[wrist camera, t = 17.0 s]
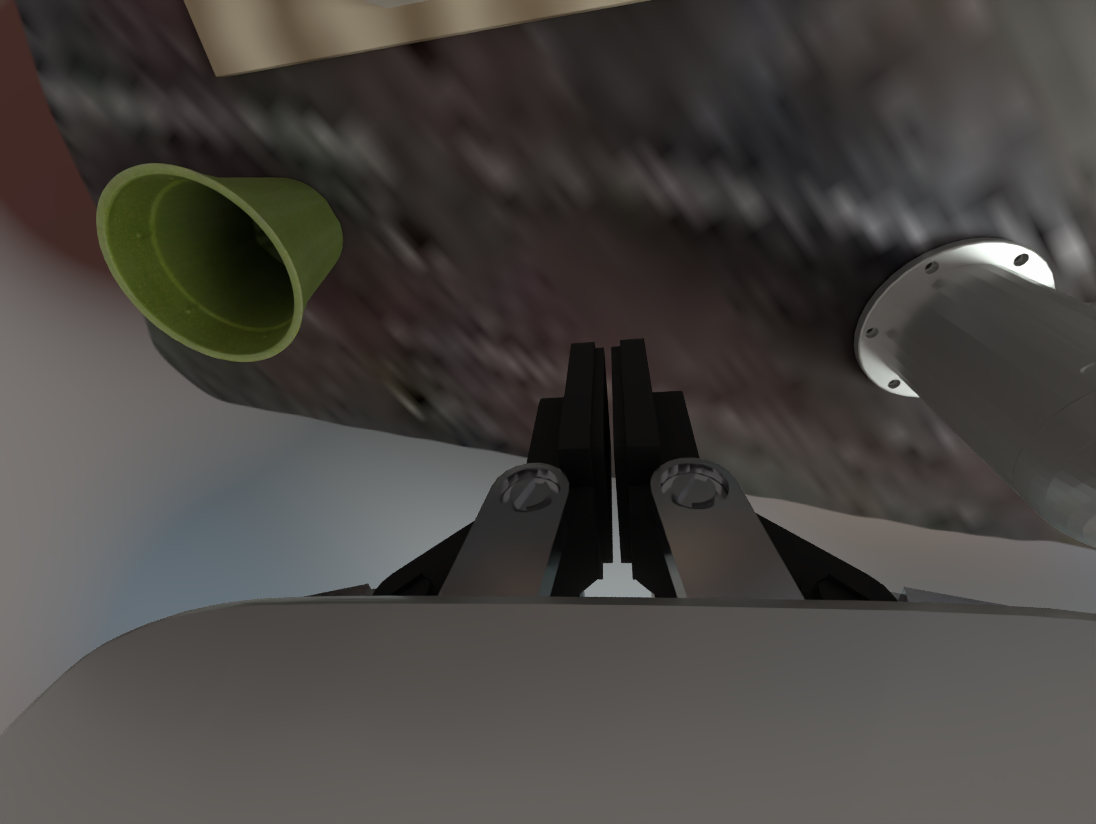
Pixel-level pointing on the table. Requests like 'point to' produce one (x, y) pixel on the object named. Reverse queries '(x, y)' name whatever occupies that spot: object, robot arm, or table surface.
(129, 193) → the plant pot
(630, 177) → the table surface
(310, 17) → the rail board
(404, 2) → the box
